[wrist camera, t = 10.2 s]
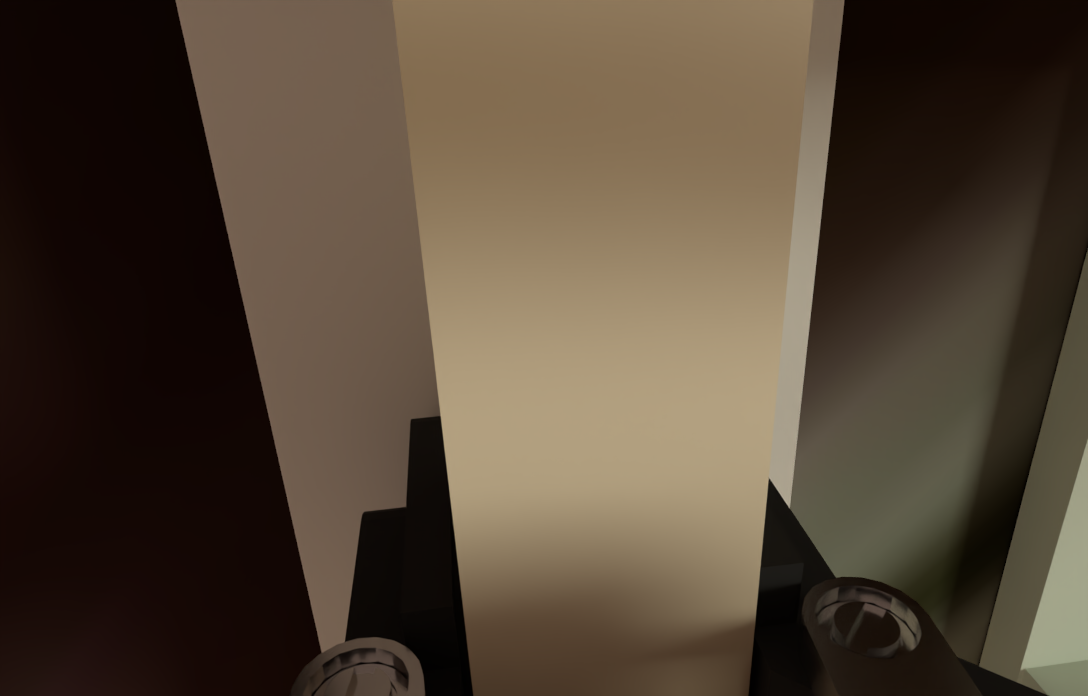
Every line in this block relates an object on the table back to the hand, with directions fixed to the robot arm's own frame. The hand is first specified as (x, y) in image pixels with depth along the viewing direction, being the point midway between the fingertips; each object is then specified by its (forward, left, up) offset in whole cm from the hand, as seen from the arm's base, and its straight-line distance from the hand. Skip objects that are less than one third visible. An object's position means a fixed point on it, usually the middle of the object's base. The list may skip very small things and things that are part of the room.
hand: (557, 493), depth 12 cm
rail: (0, 0, +1) cm, 1 cm away
